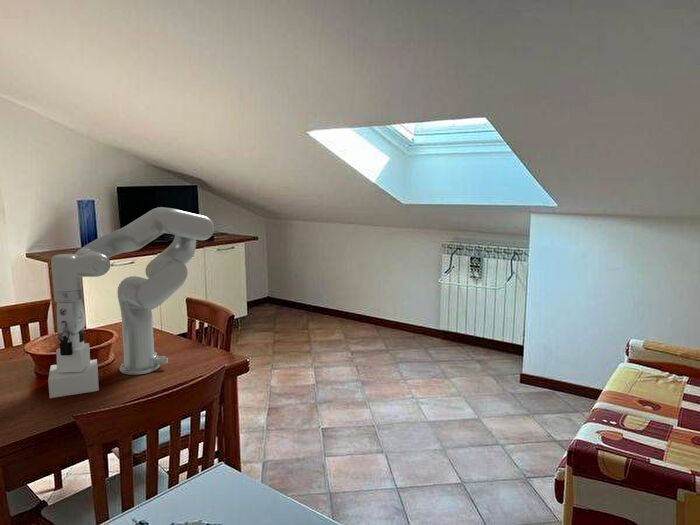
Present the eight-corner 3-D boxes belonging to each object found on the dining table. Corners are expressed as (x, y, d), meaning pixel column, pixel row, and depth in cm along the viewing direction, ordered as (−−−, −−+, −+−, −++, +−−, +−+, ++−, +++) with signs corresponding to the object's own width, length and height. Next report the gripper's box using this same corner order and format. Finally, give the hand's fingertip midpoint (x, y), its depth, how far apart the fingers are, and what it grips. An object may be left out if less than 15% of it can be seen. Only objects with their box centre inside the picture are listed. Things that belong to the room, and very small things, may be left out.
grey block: (98, 376, 169) (96, 359, 168) (98, 391, 158) (97, 373, 157) (52, 383, 163) (50, 365, 162) (49, 399, 152) (48, 380, 151)
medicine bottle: (66, 365, 162) (64, 327, 161) (90, 364, 163) (89, 327, 162) (56, 372, 155) (54, 334, 154) (81, 372, 156) (79, 334, 155)
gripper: (71, 301, 148) (75, 359, 151) (91, 288, 165) (95, 340, 168) (42, 302, 147) (47, 360, 150) (66, 289, 163) (70, 341, 166)
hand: (72, 349), depth 159 cm, fingers open, 9 cm apart
